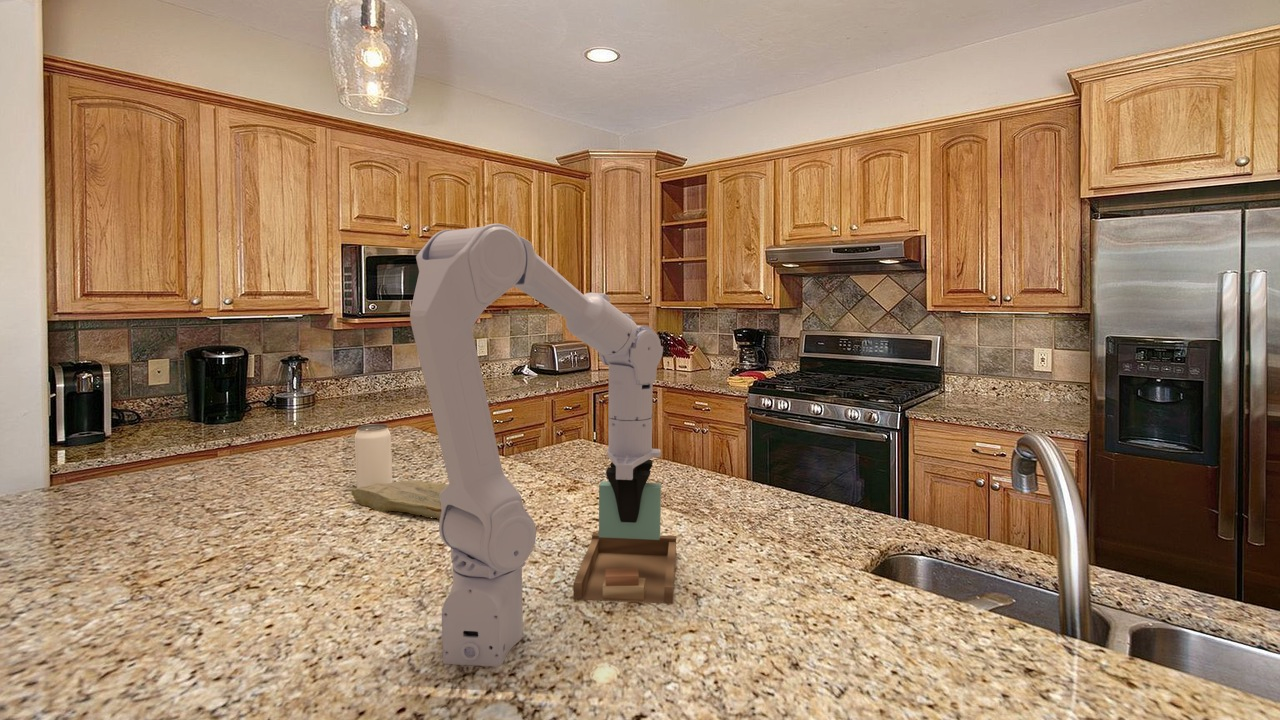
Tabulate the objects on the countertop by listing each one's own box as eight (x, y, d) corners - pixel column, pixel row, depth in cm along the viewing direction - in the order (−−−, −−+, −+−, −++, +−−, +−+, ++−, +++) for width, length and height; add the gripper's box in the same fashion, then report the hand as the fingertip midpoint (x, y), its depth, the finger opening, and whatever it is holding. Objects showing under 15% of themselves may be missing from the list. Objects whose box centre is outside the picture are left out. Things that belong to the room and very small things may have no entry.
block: (659, 539, 83) (660, 487, 82) (598, 537, 83) (599, 485, 82) (660, 534, 84) (661, 483, 84) (601, 531, 85) (601, 481, 84)
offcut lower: (643, 600, 76) (643, 587, 76) (602, 598, 77) (602, 585, 76) (645, 590, 79) (645, 578, 79) (605, 588, 79) (605, 576, 79)
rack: (672, 609, 76) (672, 583, 75) (573, 605, 77) (573, 579, 76) (676, 558, 90) (676, 536, 90) (593, 555, 91) (593, 532, 91)
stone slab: (395, 473, 123) (524, 486, 111) (396, 494, 124) (525, 509, 112) (343, 489, 112) (480, 506, 100) (344, 512, 112) (481, 532, 100)
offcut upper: (638, 585, 77) (638, 576, 76) (605, 586, 76) (605, 576, 76) (637, 577, 79) (637, 568, 79) (605, 578, 79) (605, 568, 78)
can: (356, 484, 125) (353, 425, 124) (391, 480, 127) (389, 422, 126) (356, 494, 119) (354, 431, 118) (393, 489, 122) (391, 428, 120)
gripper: (657, 428, 75) (656, 539, 76) (663, 407, 89) (662, 501, 90) (598, 427, 75) (598, 537, 77) (614, 406, 90) (613, 499, 91)
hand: (629, 518), depth 84 cm, fingers closed on block, 2 cm apart
